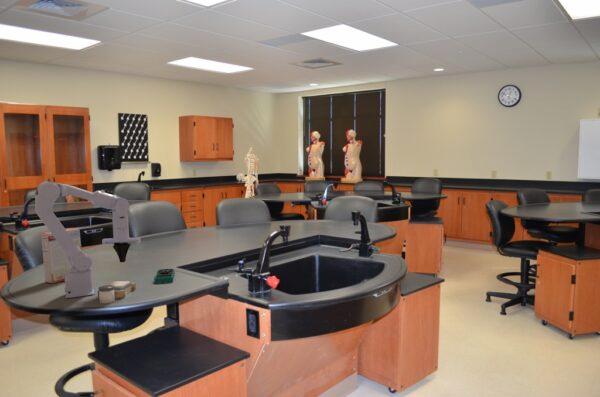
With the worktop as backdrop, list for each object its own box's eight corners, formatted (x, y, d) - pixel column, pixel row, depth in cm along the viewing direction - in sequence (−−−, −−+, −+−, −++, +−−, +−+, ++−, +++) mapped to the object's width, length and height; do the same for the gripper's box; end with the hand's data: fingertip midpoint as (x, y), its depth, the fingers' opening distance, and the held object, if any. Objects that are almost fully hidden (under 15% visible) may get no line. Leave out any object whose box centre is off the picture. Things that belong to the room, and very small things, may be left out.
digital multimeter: (175, 274, 204) (174, 267, 203) (173, 283, 189) (172, 276, 189) (157, 275, 202) (157, 269, 202) (154, 284, 188) (153, 277, 187)
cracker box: (75, 274, 205) (72, 227, 203) (83, 276, 202) (80, 228, 200) (44, 282, 194) (40, 232, 192) (52, 284, 190) (48, 233, 188)
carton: (104, 296, 172) (104, 285, 172) (113, 291, 179) (113, 281, 178) (122, 296, 172) (122, 286, 171) (131, 291, 178) (130, 281, 178)
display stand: (98, 298, 170) (97, 291, 169) (111, 289, 181) (110, 283, 180) (124, 297, 169) (123, 291, 169) (135, 289, 180) (135, 282, 180)
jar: (99, 304, 162) (98, 290, 162) (99, 300, 167) (98, 286, 166) (115, 302, 164) (114, 287, 164) (114, 298, 169) (113, 284, 169)
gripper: (142, 225, 186) (144, 259, 187) (107, 226, 186) (109, 259, 188) (136, 228, 179) (137, 263, 180) (98, 229, 179) (101, 263, 181)
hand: (122, 261), depth 183 cm, fingers closed
